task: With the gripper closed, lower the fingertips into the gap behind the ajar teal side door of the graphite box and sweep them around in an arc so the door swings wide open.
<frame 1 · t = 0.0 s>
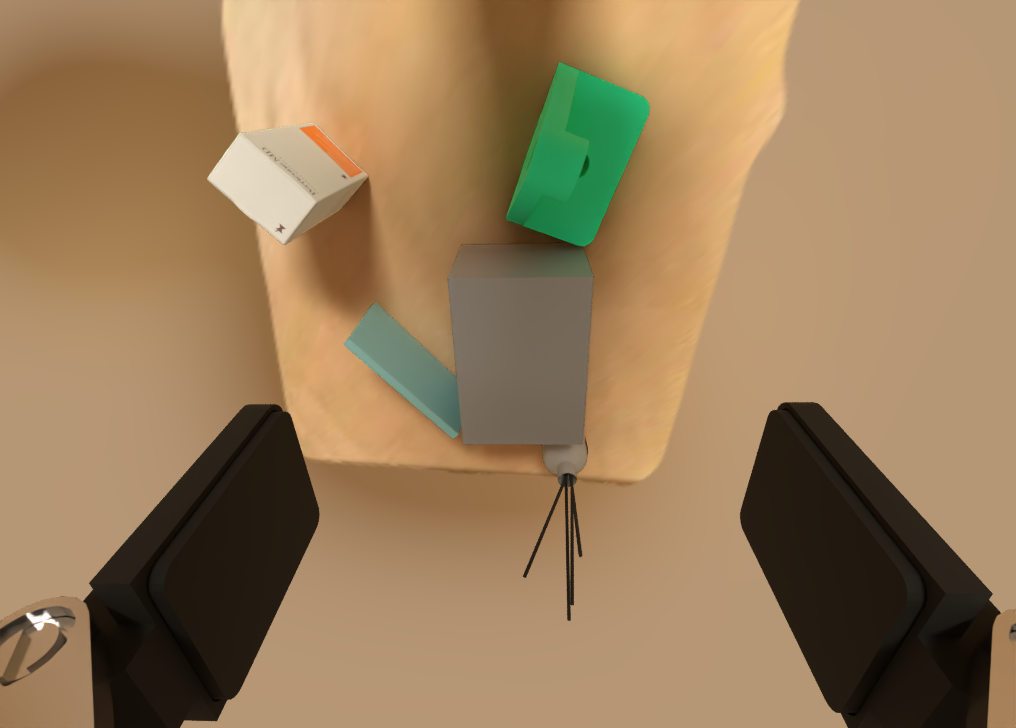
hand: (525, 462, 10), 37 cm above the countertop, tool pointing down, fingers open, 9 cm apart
camera mount: (572, 159, 41), on the countertop
side door: (413, 369, 47), point 4 cm above the countertop, hinge at 40.0°
reed diffuser: (554, 427, 55), on the countertop
skincare box: (328, 165, 42), on the countertop
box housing: (522, 323, 49), on the countertop
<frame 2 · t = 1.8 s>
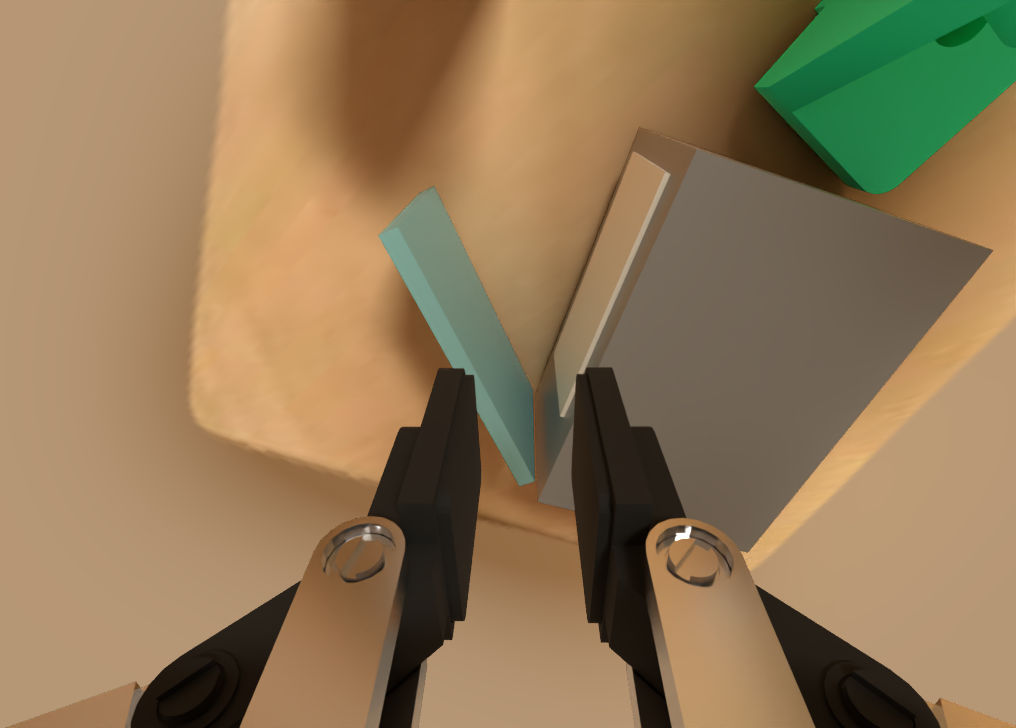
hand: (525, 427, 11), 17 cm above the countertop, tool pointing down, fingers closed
camera mount: (912, 21, 21), on the countertop
side door: (475, 333, 24), point 5 cm above the countertop, hinge at 40.0°
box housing: (671, 308, 28), on the countertop
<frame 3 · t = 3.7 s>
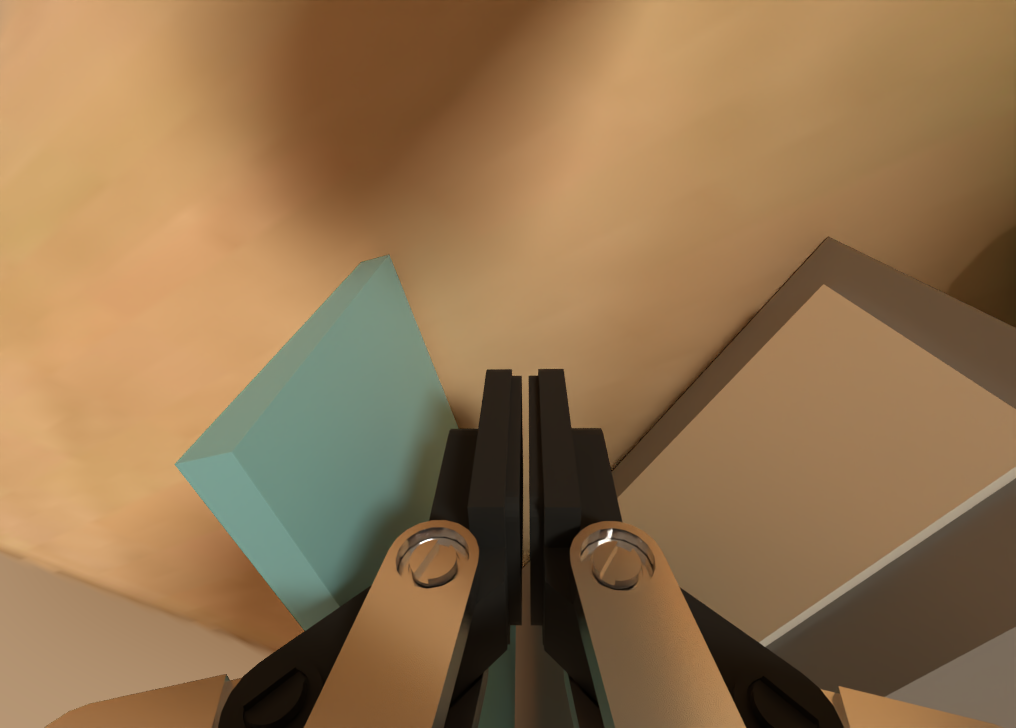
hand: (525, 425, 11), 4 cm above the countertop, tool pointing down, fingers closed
side door: (434, 547, 12), point 5 cm above the countertop, hinge at 45.9°, touching gripper
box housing: (761, 506, 18), on the countertop
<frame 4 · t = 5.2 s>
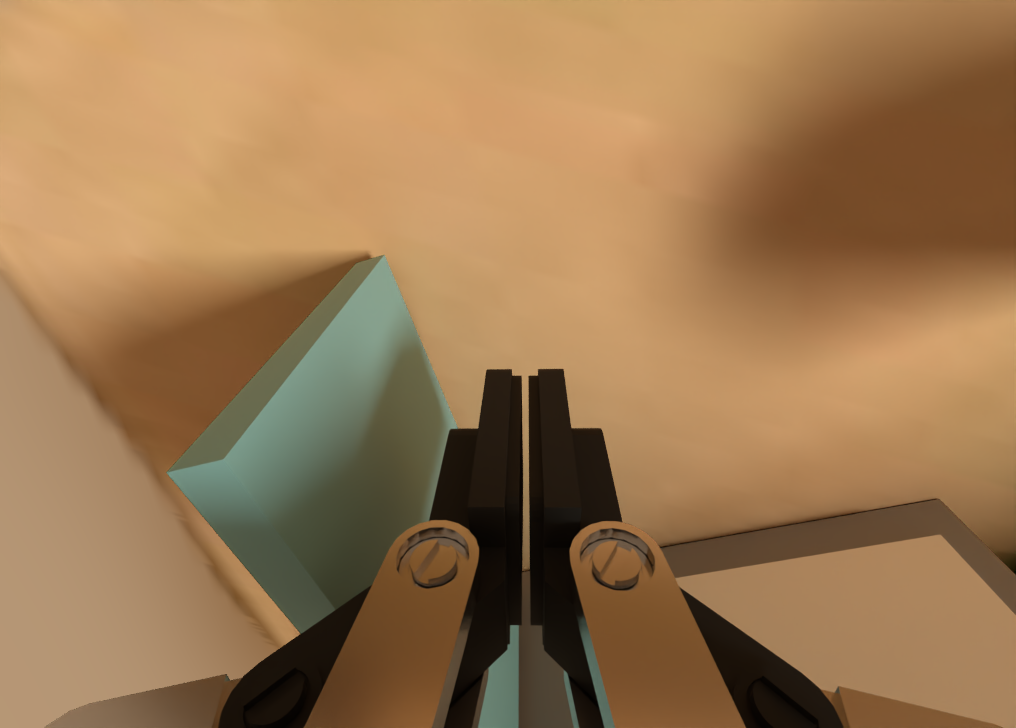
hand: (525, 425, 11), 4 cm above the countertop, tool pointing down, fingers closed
side door: (434, 547, 12), point 5 cm above the countertop, hinge at 89.8°, touching gripper
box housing: (718, 624, 21), on the countertop
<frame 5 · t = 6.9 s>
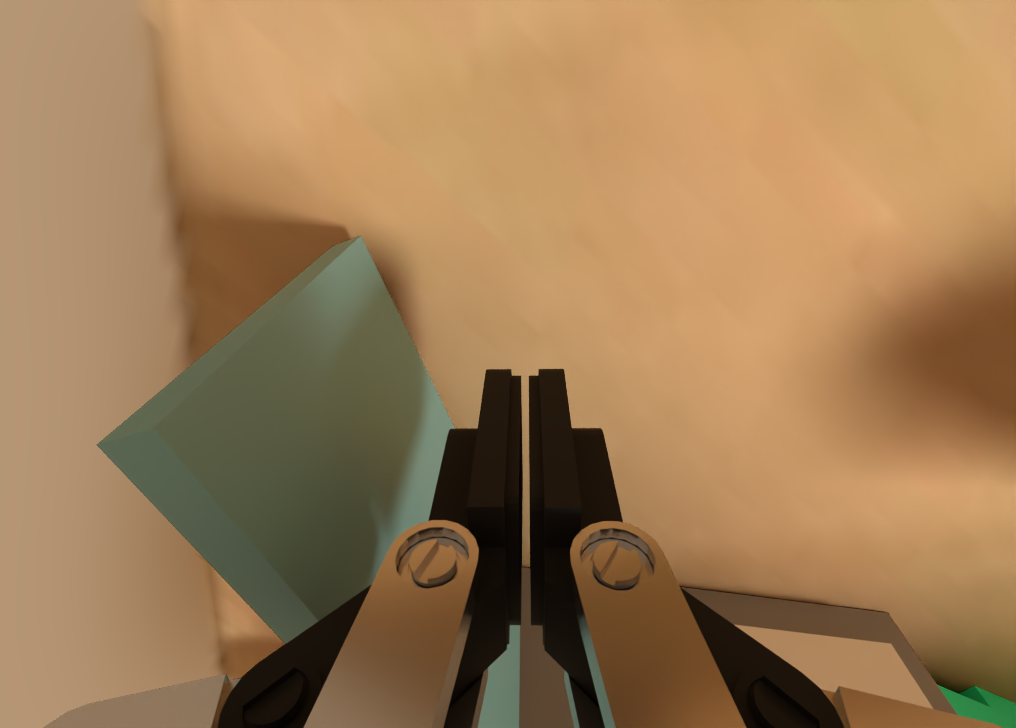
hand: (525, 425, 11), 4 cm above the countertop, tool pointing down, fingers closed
camera mount: (932, 725, 25), on the countertop
side door: (421, 535, 12), point 5 cm above the countertop, hinge at 117.3°
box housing: (656, 664, 22), on the countertop
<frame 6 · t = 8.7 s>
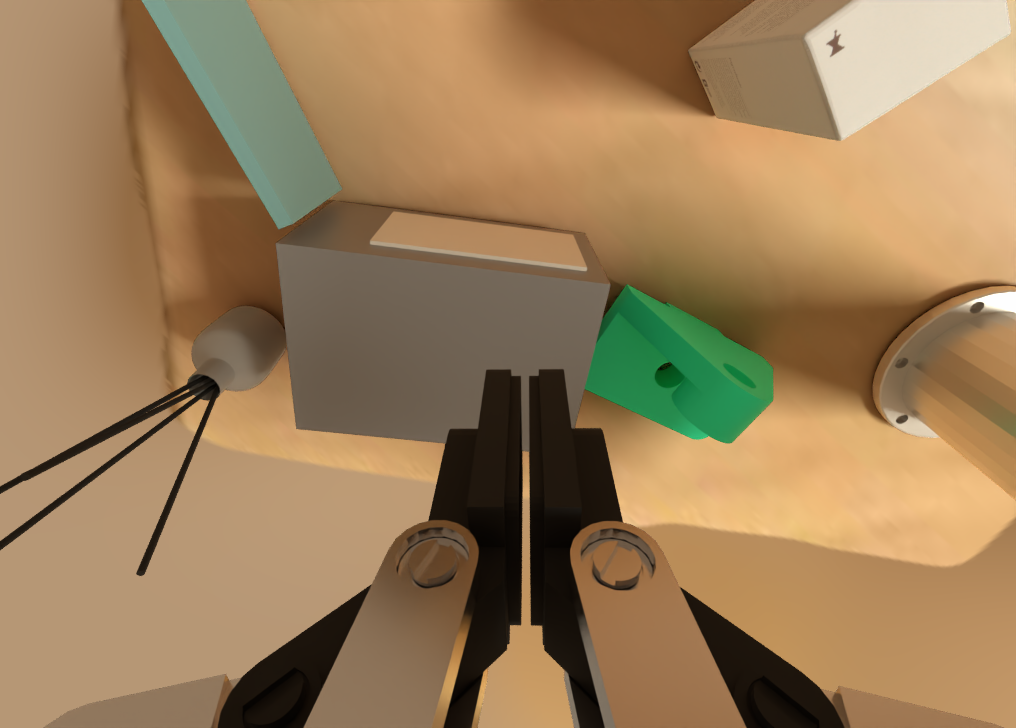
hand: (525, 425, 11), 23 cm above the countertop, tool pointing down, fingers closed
camera mount: (659, 355, 37), on the countertop
side door: (242, 74, 23), point 5 cm above the countertop, hinge at 117.3°
reed diffuser: (268, 319, 35), on the countertop
skincare box: (751, 50, 27), on the countertop
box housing: (455, 296, 34), on the countertop
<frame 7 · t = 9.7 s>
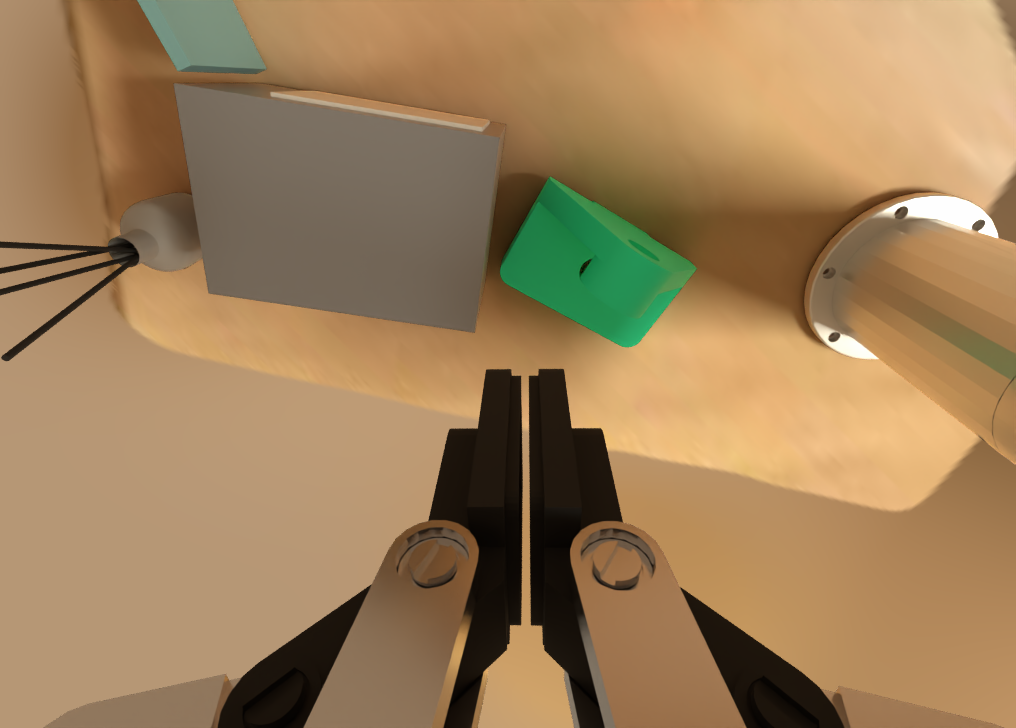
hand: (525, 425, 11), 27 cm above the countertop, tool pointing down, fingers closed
camera mount: (590, 260, 37), on the countertop
reed diffuser: (205, 211, 36), on the countertop
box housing: (383, 191, 35), on the countertop
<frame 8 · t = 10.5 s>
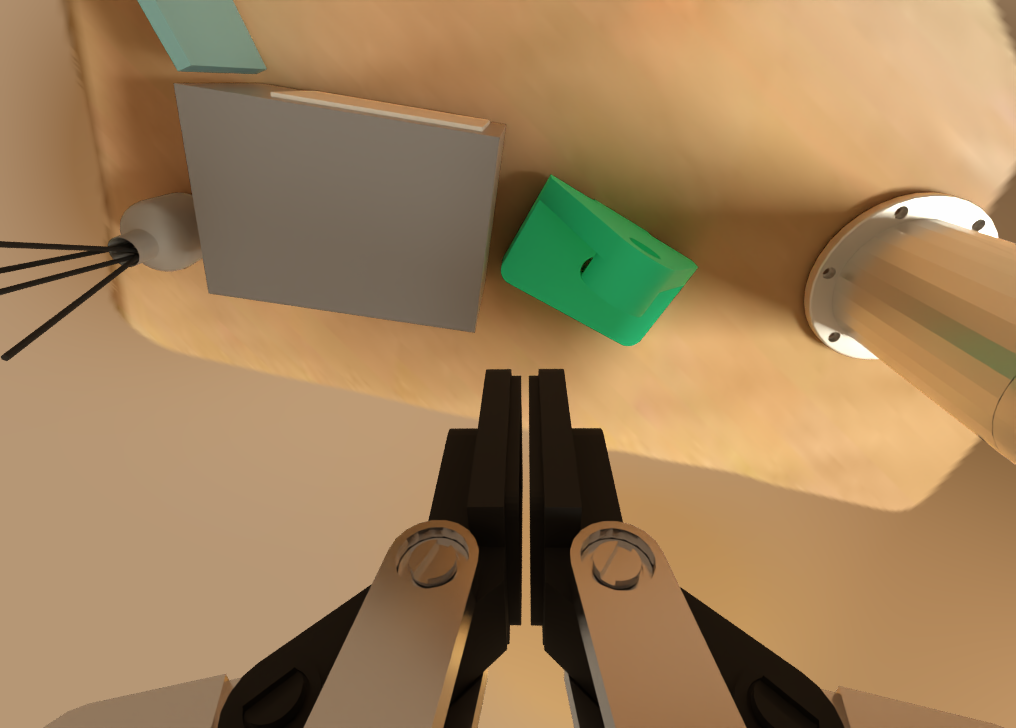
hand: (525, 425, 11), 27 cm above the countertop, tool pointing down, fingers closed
camera mount: (591, 259, 37), on the countertop
reed diffuser: (205, 211, 36), on the countertop
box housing: (383, 190, 35), on the countertop
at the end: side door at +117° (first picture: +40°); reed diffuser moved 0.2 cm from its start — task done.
